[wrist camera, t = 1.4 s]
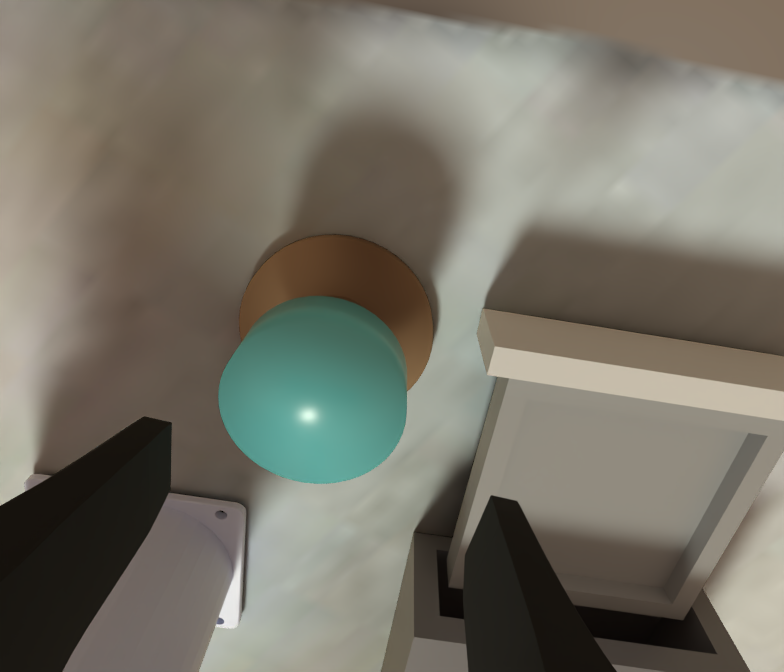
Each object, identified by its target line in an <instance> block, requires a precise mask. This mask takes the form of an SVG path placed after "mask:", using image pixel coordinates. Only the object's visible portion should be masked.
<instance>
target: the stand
mask: <svg viewBox="0 0 784 672" xmlns="http://www.w3.org/2000/svg"><path fill="white" fill-rule="evenodd" d="M306 296H328V297H335V298H340V299H344V300H347V301H350V302H353V303H355V304H357V305H359V306H361V307H363V308H365V309H367V310H368V311H370V312H372V313H373V314H375V315H376V316H377V317H378V318H379V319H381V320H382V321H383V322H384V323H385V324H386V325H387V326H388V328H389V329H390V330H391V331H392V332H393V334H394V335H395V337H396V338H397V340H398V342H399V344H400V346H401V348H402V350H403V353H404V356H405V360H406V366H407V391H408V390H409V389H411V387H412V386H413V385H414V384H415V383H416V381H417V380H418V379H419V377H420V376H421V374H422V373H423V371H424V369H425V367H426V365H427V362H428V360H429V357H430V353H431V350H432V343H433V320H432V313H431V307H430V304H429V301H428V298H427V295H426V293H425V291H424V289H423V287H422V285H421V283H420V282H419V280H418V279H417V277H416V275H415V274H414V273H413V272H412V271H411V269H410V268H409V267H408V266H407V265H406V264H405V263H404V262H403V261H402V260H400V259H399V258H398V257H397V256H396V255H394V254H393V253H391V252H390V251H388V250H387V249H385V248H383V247H381V246H379V245H377V244H375V243H373V242H370V241H367V240H365V239H362V238H357V237H353V236H347V235H337V234H332V235H318V236H312V237H308V238H305V239H301V240H298V241H296V242H294V243H291V244H289V245H287V246H285V247H284V248H282V249H281V250H279V251H278V252H276V253H275V254H274V255H272V256H271V257H270V258H269V259H268V260H267V261H266V262H265V263H264V264H263V265H262V267H261V268H260V269H259V270H258V271H257V273H256V274H255V275H254V276H253V278H252V280H251V281H250V283H249V284H248V286H247V289H246V291H245V293H244V296H243V299H242V303H241V307H240V314H239V331H240V337H241V342H242V341H243V339H244V338H245V336H246V335H247V333H248V332H249V330H250V329H251V327H252V326H253V325H254V323H255V322H256V321H257V320H258V319H259V318H260V317H261V316H262V315H263V314H265V313H266V312H267V311H268V310H270V309H272V308H273V307H275V306H276V305H279V304H281V303H283V302H285V301H288V300H292V299H295V298H299V297H306Z"/></svg>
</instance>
